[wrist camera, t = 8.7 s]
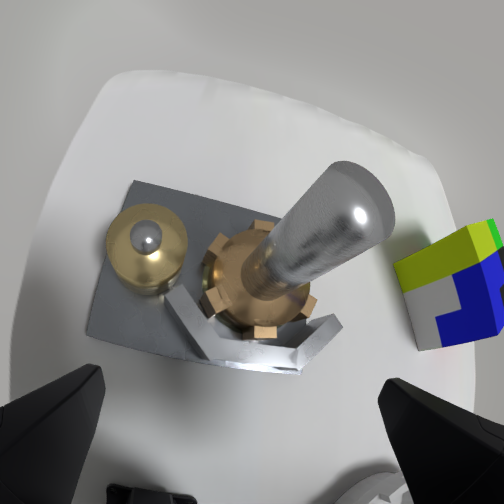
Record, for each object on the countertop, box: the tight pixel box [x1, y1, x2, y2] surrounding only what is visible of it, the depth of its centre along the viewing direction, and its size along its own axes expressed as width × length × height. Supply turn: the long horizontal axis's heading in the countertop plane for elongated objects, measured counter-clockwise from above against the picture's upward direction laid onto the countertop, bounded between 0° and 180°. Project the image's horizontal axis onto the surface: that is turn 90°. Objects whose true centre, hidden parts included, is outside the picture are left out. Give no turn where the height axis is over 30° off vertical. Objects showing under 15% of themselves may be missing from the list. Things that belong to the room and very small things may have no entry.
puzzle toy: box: [393, 219, 504, 351], centre depth 23 cm, size 10×10×10 cm
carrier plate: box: [86, 180, 343, 374], centre depth 18 cm, size 12×16×5 cm
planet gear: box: [199, 161, 395, 341], centre depth 14 cm, size 8×7×12 cm
